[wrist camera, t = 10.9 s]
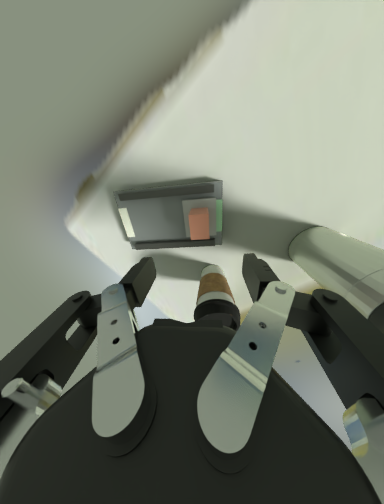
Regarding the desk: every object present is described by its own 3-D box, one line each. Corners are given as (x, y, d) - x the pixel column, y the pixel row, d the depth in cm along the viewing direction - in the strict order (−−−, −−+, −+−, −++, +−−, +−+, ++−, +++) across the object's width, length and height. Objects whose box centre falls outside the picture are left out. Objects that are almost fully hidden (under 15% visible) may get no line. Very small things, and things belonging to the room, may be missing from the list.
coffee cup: (205, 255, 34) (207, 304, 20) (235, 268, 35) (254, 323, 22) (191, 278, 37) (185, 333, 24) (218, 290, 39) (225, 347, 25)
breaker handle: (215, 197, 24) (219, 201, 19) (216, 234, 27) (219, 246, 22) (182, 200, 25) (177, 205, 20) (186, 236, 28) (183, 248, 23)
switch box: (220, 180, 26) (223, 180, 22) (220, 239, 31) (222, 247, 28) (121, 190, 28) (109, 192, 24) (137, 243, 33) (129, 251, 30)
